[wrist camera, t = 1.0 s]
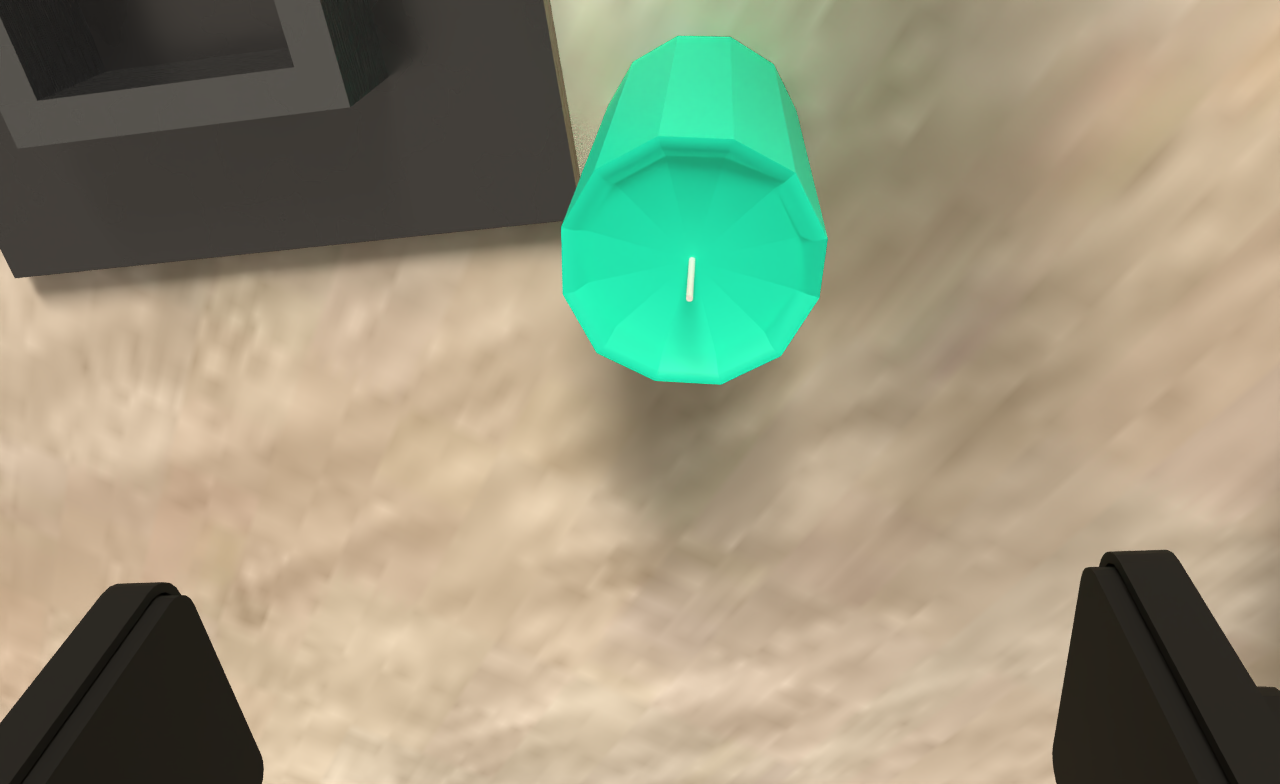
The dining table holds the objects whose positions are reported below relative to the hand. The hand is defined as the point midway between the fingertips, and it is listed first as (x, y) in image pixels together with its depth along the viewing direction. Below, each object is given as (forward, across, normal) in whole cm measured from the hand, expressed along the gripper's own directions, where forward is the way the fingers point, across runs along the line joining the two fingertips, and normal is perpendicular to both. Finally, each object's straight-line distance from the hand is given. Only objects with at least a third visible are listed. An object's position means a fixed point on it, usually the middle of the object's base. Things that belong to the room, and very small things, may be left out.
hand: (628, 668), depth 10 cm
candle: (+23, 0, +1) cm, 23 cm away
